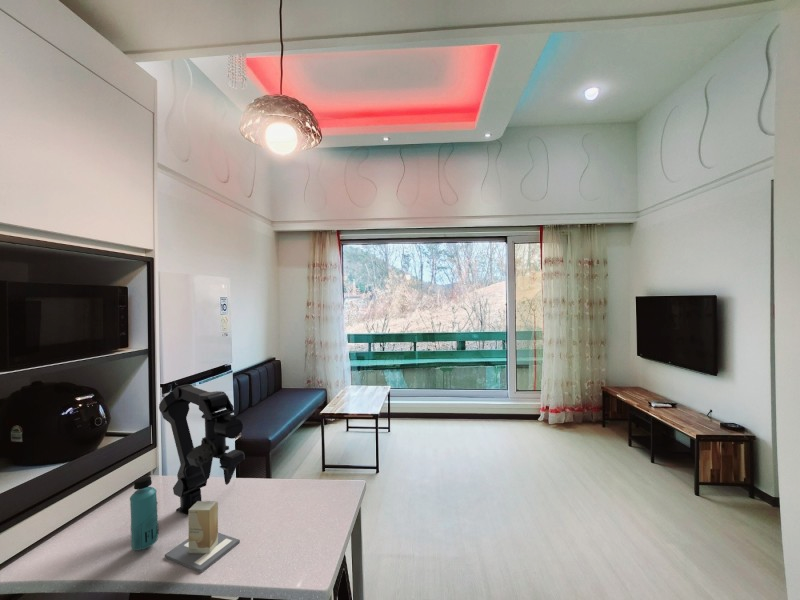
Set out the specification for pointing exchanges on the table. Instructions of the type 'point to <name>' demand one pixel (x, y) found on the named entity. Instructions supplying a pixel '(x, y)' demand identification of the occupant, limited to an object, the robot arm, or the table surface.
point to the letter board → (201, 559)
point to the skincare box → (203, 526)
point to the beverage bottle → (143, 514)
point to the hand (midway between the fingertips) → (217, 481)
